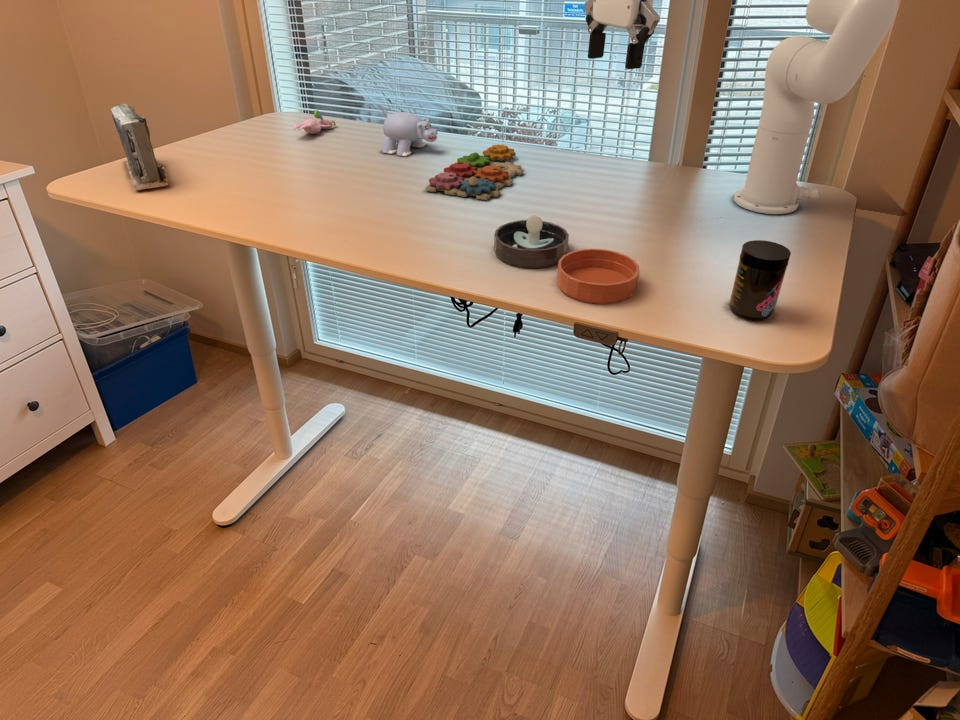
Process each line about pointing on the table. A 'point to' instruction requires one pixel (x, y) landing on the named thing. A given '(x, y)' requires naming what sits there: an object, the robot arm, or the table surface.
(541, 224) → the pacifier
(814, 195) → the robot arm
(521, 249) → the charcoal bowl
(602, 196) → the table surface
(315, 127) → the rabbit figure
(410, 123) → the hippopotamus toy
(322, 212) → the table surface
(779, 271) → the supplement container
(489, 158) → the gear puzzle
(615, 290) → the terracotta bowl
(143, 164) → the radio
